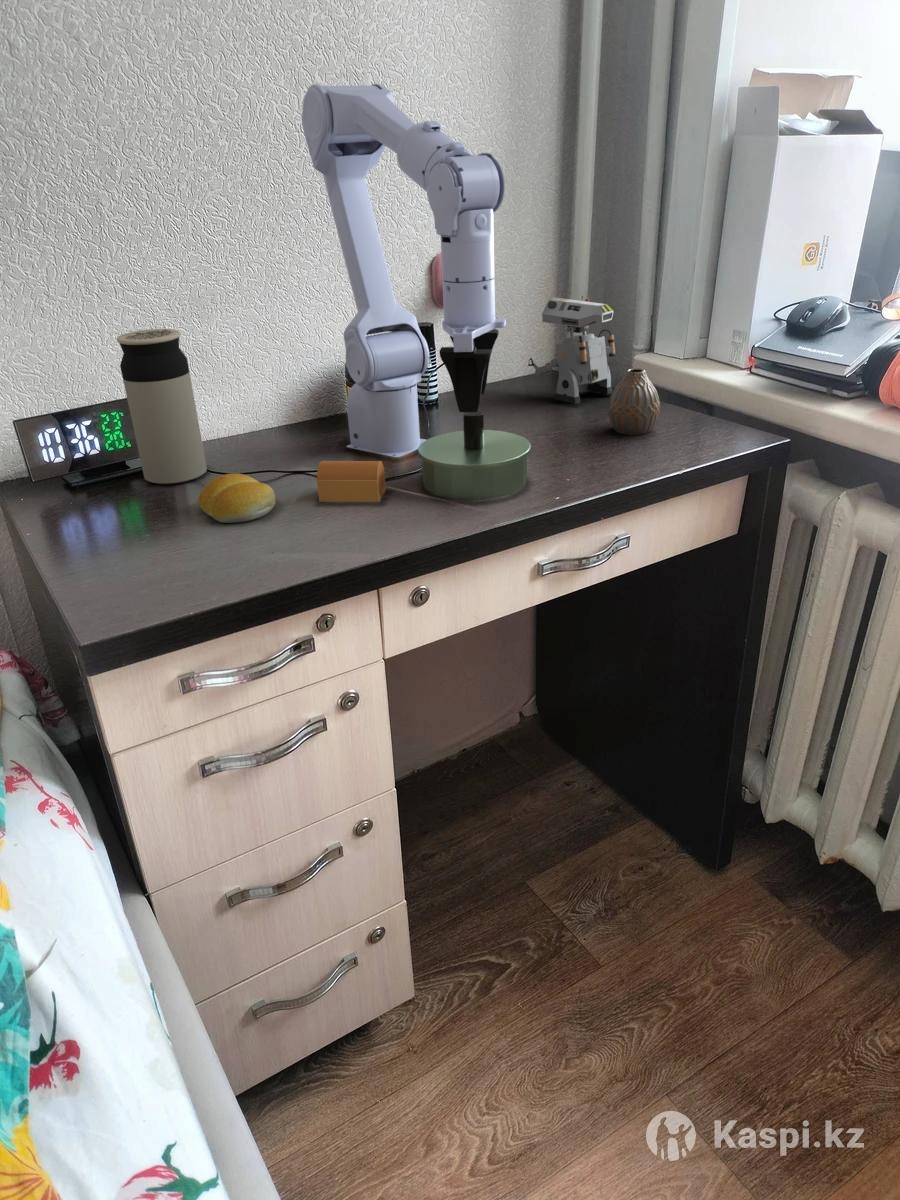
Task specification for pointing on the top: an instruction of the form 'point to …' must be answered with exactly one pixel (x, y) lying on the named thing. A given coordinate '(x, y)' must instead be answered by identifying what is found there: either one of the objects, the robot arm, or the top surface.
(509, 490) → the pot
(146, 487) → the top surface
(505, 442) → the lid
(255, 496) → the bread roll
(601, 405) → the top surface
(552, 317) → the figurine
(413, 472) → the top surface
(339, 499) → the loaf
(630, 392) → the vase
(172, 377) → the travel mug
